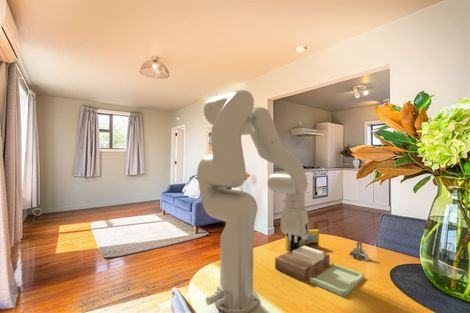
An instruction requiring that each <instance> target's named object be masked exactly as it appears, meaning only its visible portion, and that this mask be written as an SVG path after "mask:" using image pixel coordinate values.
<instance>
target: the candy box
mask: <svg viewBox="0 0 470 313" xmlns="http://www.w3.org/2000/svg"><path fill="white" fill-rule="evenodd" d="M307 235H308V239H306V240H300V241H299V247H300V246H307V247H310V248H313V249H314V248H319V247H320V230H319V229H318V228H317V229H308V234H307ZM284 246H285V247H284V249H285V250H286V251H291V248H290V241H289V238H288V236H287V235H285V245H284Z"/></svg>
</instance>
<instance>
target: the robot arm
mask: <svg viewBox="0 0 470 313" xmlns="http://www.w3.org/2000/svg"><path fill="white" fill-rule="evenodd" d="M254 100H255V98H254V97H253V94H252V93H251V92H250V91H248V90H244V89H238V90H235V91H234V90H233V91H230V92H227V93H224V94H221V95H218V96H217V95H216V96H214V97H212V98H209V99H208V100H207V101H206V102H205V103H204V105H203V115H204V118H205V120H206V121H207V122H208V123H209V124H211V125H212V127H211V132H210V146H211V154H209V155H206V156H204V157H203V158H202V159H201V160H200V161H199V163H198V166H197V171H196V177H197V182H198V187H199V193H200V197H201V202H202V206H203V209H204V211H205V213H206V214H207V215H208V216H209V217H211V218H213V219H216V220H218V221H219V220H220V221H222V222H225V225H224V228H223V230H222V233H221V235H220V242H219V244H220V245H219V246H220V247H219V248H220V250H219V253H220V254H219V256H220V261H219V263H220V264H219V266H220V267H219V268H220V269H219V271H220V273H219V275H220V279H219V284H220V285H217V287H216V291H215V292H214V293H213V294H211V295H209V296H207V297H206V298H205V303H206V305H207V306H211V305H213V304H215V306H216V307H217V308H218V309H219V310H221V311H222V312H224V313H250V312H252V311H253V310H254V309H256V308H257V306H258V304H259V295H258V292H257V291H255V289H254V231H255V222H256V218H257V213H258V203H257V200H256V199H255V197H254V196H253V195H252V194H250V193H249V192H246V191H243V190H237V189H234V188H240V187H241V186H243V185H244V183H245V182H246V178H247V170H246V162H245V156H244V151H243V145H242V136H244V135H245V136H246V135H250V138H251V139H252V142H253V145H254V146H255V149H256V152H257V154H258V156H259V157H260V158H261V159H263V160H265V161H267V162H269V163H272V164H274V165H276V166H278V167H280V168H281V169H282V170H284V171H285V172H274V173H272V174H270V175H269V177H268V178H267V186H268V189H270V190H271V191H272V192H274V193H279V194H284V199H282V203H284V205H283V206H282V210H281V215H280V230H281V232H282V234H284V235H285V236H286V235H287V236H288V238H289V241H290V248H291V250H290V251H291V252H292V251H293V250H296V249H298V248H299V241H300V240H306V239H308V235H307V234H308V230H309V216H308V212H307V208H306V204H305V203H306V201H305V200H306V196H305V194H306V191H307V189H308V178H307V173H306V172H305V168H304V165H303V164H302V162H301V161H300V159H298V157H297V156H296V155H295V154H293V153H292V152H291V151H290V150H288V149H287V148H286V147H285V146H283V144H282V141H281V139H280V136H279V134H278V131H277V129H276V125H275V123H274V120H273V118H272V115H271V113H270V111H269V109H268V108H265V107H261V106H258V107H255V101H254ZM229 188H233V189H229Z"/></svg>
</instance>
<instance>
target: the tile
mask: <svg viewBox="0 0 470 313" xmlns="http://www.w3.org/2000/svg"><path fill="white" fill-rule="evenodd" d="M324 253H325V252H324V251H323V250H319V249H316V248H314V247H313V248H310V247H307V246H302V247H300V248H298V249H296V250H293V251H292V258H295V259H297V260H300V261H303V262H305V263H308V264H310V265H313V264H315V263H317V262H319V261H320V260H322V259H324Z"/></svg>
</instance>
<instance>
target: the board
mask: <svg viewBox="0 0 470 313" xmlns="http://www.w3.org/2000/svg"><path fill="white" fill-rule="evenodd" d="M300 247H302V246H300ZM300 247H299V248H300ZM274 260H275V261H274V264H275V265H274V268H275V270H277V271H279V272H281V273H283V274H286V275H288V276H291V277H293V278H295V279H297V280H300V281H302V282H303V283H305V282H306V281H308V280H310V277H314V276H316V275H317V274H318V273H320V272H322V270H324V269H325V268H327V267H328V266H330V265H331V263H330V260H331V259H330V254H328V253H326V252H324V259H322V260H320V261H319V262H317V263H315V264H313V265H310V264H308V263H305V262H303V261H300V260H297V259H295V258H292V252H291V250H288V252H287V251H286V253H283V254H281V255H279V256H277V257H275V258H274Z"/></svg>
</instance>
